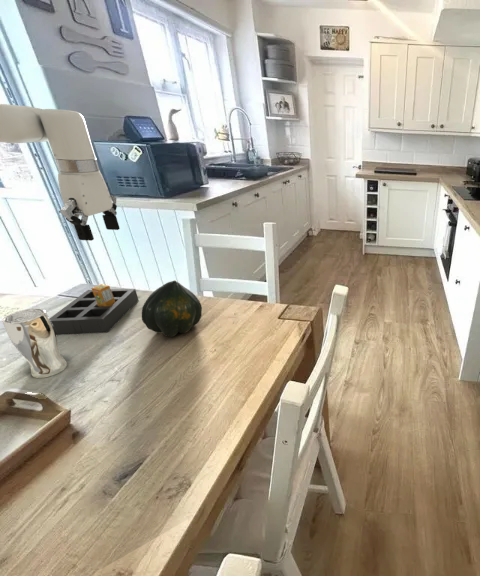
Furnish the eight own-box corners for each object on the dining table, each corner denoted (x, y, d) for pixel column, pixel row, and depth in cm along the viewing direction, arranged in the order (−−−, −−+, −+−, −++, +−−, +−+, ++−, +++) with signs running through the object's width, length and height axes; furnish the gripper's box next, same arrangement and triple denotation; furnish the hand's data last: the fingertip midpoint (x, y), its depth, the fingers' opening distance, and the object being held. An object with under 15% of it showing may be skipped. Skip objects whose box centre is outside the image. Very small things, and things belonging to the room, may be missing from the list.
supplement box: (100, 317, 98) (90, 287, 93) (111, 312, 101) (102, 283, 96) (109, 319, 97) (99, 289, 93) (120, 314, 100) (111, 285, 96)
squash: (133, 334, 82) (169, 285, 84) (128, 311, 93) (160, 268, 94) (187, 351, 92) (218, 307, 94) (178, 329, 103) (206, 289, 104)
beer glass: (39, 363, 79) (12, 309, 72) (75, 358, 81) (52, 306, 74) (22, 382, 73) (-8, 326, 66) (62, 376, 75) (36, 321, 69)
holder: (51, 335, 88) (45, 321, 87) (92, 302, 105) (87, 289, 103) (107, 332, 91) (102, 318, 89) (138, 300, 108) (135, 288, 106)
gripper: (89, 162, 86) (108, 225, 94) (29, 169, 71) (58, 244, 78) (118, 164, 87) (135, 226, 95) (66, 171, 72) (91, 245, 79)
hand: (100, 234), depth 86 cm, fingers open, 9 cm apart
